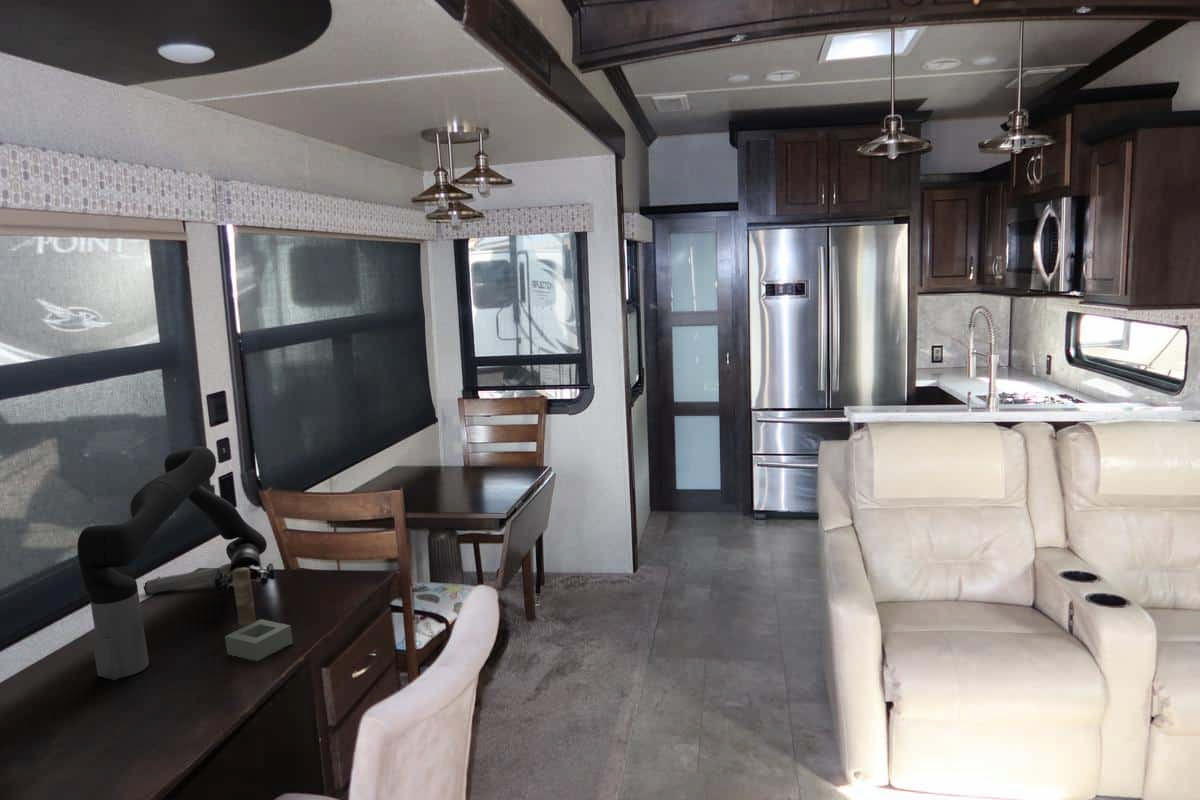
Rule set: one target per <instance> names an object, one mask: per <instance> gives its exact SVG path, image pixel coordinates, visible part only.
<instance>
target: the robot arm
mask: <svg viewBox="0 0 1200 800" xmlns="http://www.w3.org/2000/svg"><path fill="white" fill-rule="evenodd" d="M216 458H217V457H216V456H215V454H214V452H213V451H212V450H211V449H210V448H208V447H206V446H193V447H190V448H185V449H182V450H178V451H175V452H172V453H170V454H168V455H167V456H166V458H165V460H164V471H165V473H163V474H161V475H159V476H158V477H157V476H156V477H155V478H154V479H151V480H150V481H149V482H148V483H146V484H145V485H144V486H143V487H142V488H141V489H139V490H138V491H137V492H136V494H135V495H133V497H132V498H131V500H130V504H129V505H130V507H129V510H130V515H131V518H130V519H129V520H128V521H126V522H123V523H117V524H101V525H90V526H87V527H85V528H84V529H83V530H81V532H80V534H79V536H78V540H77V545H76V546H77V557H78V562H79V563H78V564H79V567H80V570H81V574H82V579H83V584H84V588H85V591H86V592H87V595H88V596H89V603H90V606H91V614H92V615H91V616H92V620H93V627H94V632H95V633H93V634H92V635H91V642H92V647H93V653H94V660H95V666H96V673H97V676H98V677H101V678H104V679H109V680H111V681H117V680H118V679H122V678H126V677H130V676H133V675H136V674H137V673H140V672H142V671H144V670H146V669H147V668H148V667H149V665H150V661H149V653H148V648H147V641H146V636H145V628H144V622H143V616H142V615H143V614H142V608H141V601H140V596H139V595H140V594H139V589H138V588H139V587H138V583H137V581H136V579H135V578H134V577H131V576H130V575H127V574H126V575H125V574H123V573H121V572H118V571H117V570H116V568H121V567H124V566H125V567H126V566H128V565H130V564H132V562H134V561H135V560H136V559H137V558H138V556H139V555H140V554H141V552H142V551H143V550H144V548H145V546H146V545H147V544H148V542H149V541H150V539H152V537H153V535H154V534H156V532H157V530H159V529H160V527H161V526H162V525H163V524H164V522H166V521H167V520H168V519H169V518H170V517H171V516H172V515H173V514H174V513H175V512H176V511H177V509H178V508H179V507H180V506H181V504H183V503H184V502H185V501H186V500H187V499H188V500H189V501H190V502H191V503H193V505H195V507H197V508H198V509H199V510H200V511H201V512H202V514H204V515H205V516H206V517H207V519H208V520H209V521H210V522H211V524H212V525H213V527H214V528H215V530H216V531H217V532H218V534H219V535H220V536H221V537H222V539H224V540H226V541H228V540H229V541H231V540H232V541H231V542H229V543H228V545H227V546H226V548H225V551H226V554H227V557H228V559H229V560H230V563H231V564H230V571H229V572H228V573H227V574H223V573H221V572H217V573H216V575H215V578H214V580H213V582H214V589H215V590H219V589H221V590H222V592H225V593H229V588H230V587H229V586H232V587H234V583H233V576H232V571H233V570H235V569H238V568H249V571H250V579H251V583H254V582H257V583H259V582H261V586H262V587H264V586H265V585H266V584H268V583H269V582H268V581H269V579H270V580H275V579H276V573H275V568H274V564H273V563H271V562H270V563H268V564H267V565H266V566H265V567H262V563H261V556H260V555H261V554H263V553H265V551H266V549H267V547H268V546H267V545H268V543H267V540H266V538H265V537H264V536H263V534H262V533H260V532H259V531H258V530H256V529H255V528H253V527H252V526H250V525H249V524H248V523H247V522H246V521H245V520H244V519H243V517H242V516H241V514H240V513H239V512H238V510H237V509H236V507H235V506H234V505H233V504H232V503H231V502H230V501H228V500H227V499H225V498H223V497H221V496H219V495H217V494H216V493H214V492H212V491H210V490H208V489H207V488H205V487H204V486H202V485H203V484H204V483H206V482H207V481H208V480H209V479H211V477H212V476H214V473H215V471H216V469H217V459H216ZM114 568H115V569H114Z"/></svg>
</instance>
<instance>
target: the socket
mask: <svg viewBox="0 0 1200 800" xmlns="http://www.w3.org/2000/svg"><path fill="white" fill-rule="evenodd" d="M224 640H225V646H226V654H229V655H228V656H230V655H232V656H231V657H234V656H237V657H236V658H238V657H241V658H240V659H242V658H247V659H251V660H256V661H258V660H260V659H262V658H264V657H266V656H268V655H269V654H272V653H274V652H276V651H278V650H280V649H282V648H283V647H286V646H288V645H290V646H292V645H293V644H294V643H293V642H294V641H293V634H292V627H291V625H290V624H285V623H281V622H275V621H272V620H266V619H258V620H256V622H254V623H252V624H250V625H248V626H245V627H243V628H241V629H238V630H235V631H233V632H231V633H229V634H227V635H225V636H224ZM291 644H292V645H291ZM288 647H289V646H288ZM286 648H287V647H286ZM282 650H283V649H282ZM280 651H281V650H280ZM278 652H279V651H278ZM276 653H277V652H276Z"/></svg>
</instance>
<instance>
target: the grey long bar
mask: <svg viewBox="0 0 1200 800" xmlns="http://www.w3.org/2000/svg"><path fill="white" fill-rule="evenodd" d="M230 564H231V562H230V563H225V564H222V565H221V566H219V567H216V568H215V567H213V568H210V569H209V568H208V569H203V570H197V571H192V572H186V573H180V574H174V575H173V574H172V575H169V576H168V575H167V576H162V577H160V576H158V577H156V578H153V579H149V581H148V580H146V581H147V582H146V583H145V586H144V585H143V591H144V593H145V594H146V595H155V594H160V593H159V592H162V591H164V592H168V591H173V590H176V589H177V590H178V589H180V588H185V587H189V586H194V585H198V584H202V583H205V582H210V581H214V578H215V575H216V573H217V572H221V573H223V574H227V573H228V572H229V571H230ZM162 593H163V592H162Z"/></svg>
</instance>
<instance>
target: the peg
mask: <svg viewBox="0 0 1200 800" xmlns="http://www.w3.org/2000/svg"><path fill="white" fill-rule="evenodd" d="M232 576H233V583H234V586H233V590H234V599H235V606H236V612H237V621H238V626H239V629H241V628H243V627H245V626H248V625H250V624H252V623H254V622H256V621H257V620H256V610H255V604H254V603H255V602H254V596H253V589H252V588H253V587H252V582H251V579H250V571H249V568H238V569H235V570H233V571H232ZM239 629H238V630H239Z"/></svg>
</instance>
